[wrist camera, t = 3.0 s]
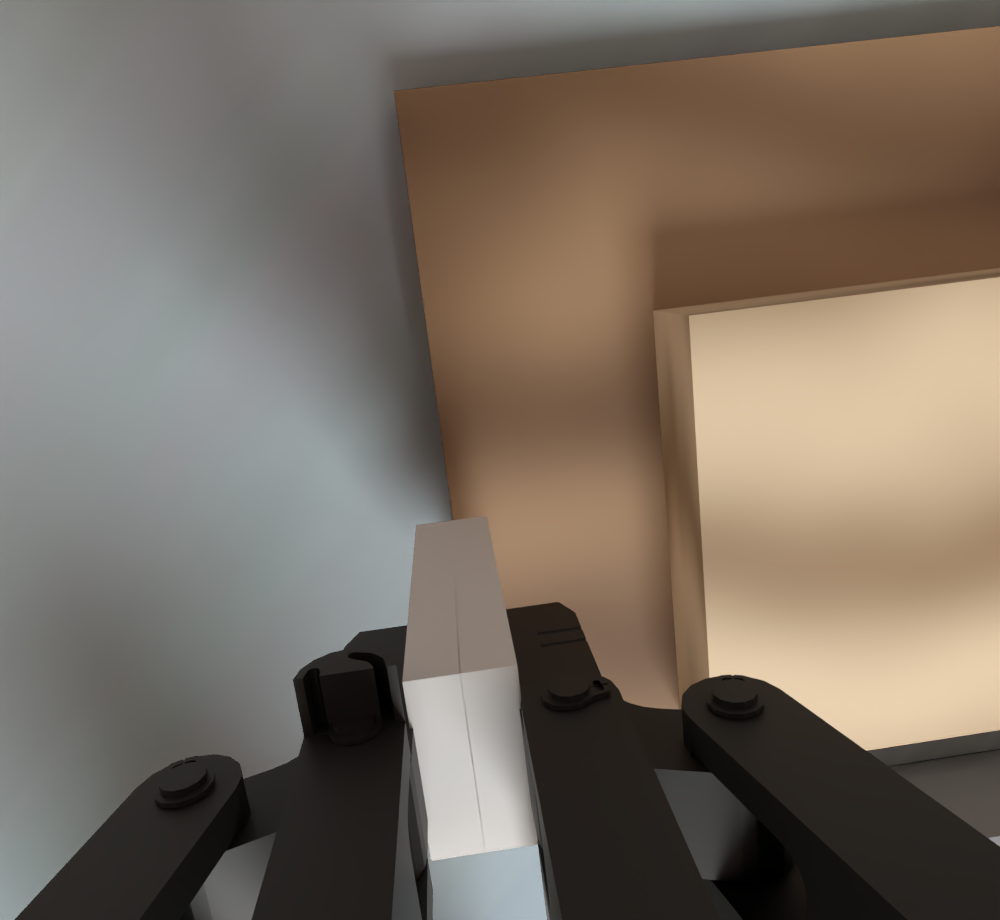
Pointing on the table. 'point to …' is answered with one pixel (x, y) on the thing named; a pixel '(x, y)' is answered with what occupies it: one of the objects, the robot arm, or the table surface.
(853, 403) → the wooden block with recess
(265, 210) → the table surface
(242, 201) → the table surface
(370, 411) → the table surface
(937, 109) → the board
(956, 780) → the tray
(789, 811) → the robot arm
